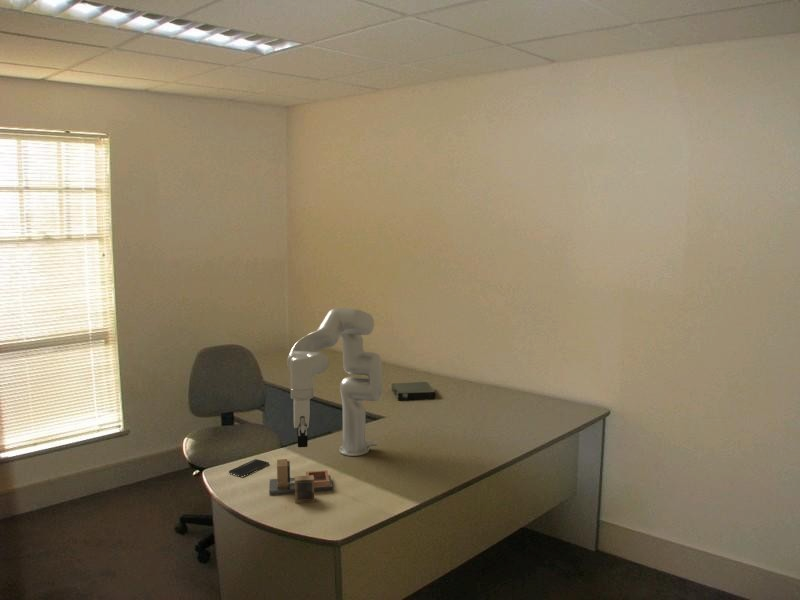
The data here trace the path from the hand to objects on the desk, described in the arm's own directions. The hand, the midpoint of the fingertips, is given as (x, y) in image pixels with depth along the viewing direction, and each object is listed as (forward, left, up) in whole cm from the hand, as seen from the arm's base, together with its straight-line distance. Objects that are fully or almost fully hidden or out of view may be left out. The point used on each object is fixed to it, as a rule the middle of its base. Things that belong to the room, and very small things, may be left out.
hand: (302, 441), depth 211 cm
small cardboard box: (-1, 0, -21) cm, 21 cm away
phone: (+19, -31, -21) cm, 43 cm away
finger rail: (0, -11, -21) cm, 24 cm away
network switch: (-65, -122, -22) cm, 140 cm away
